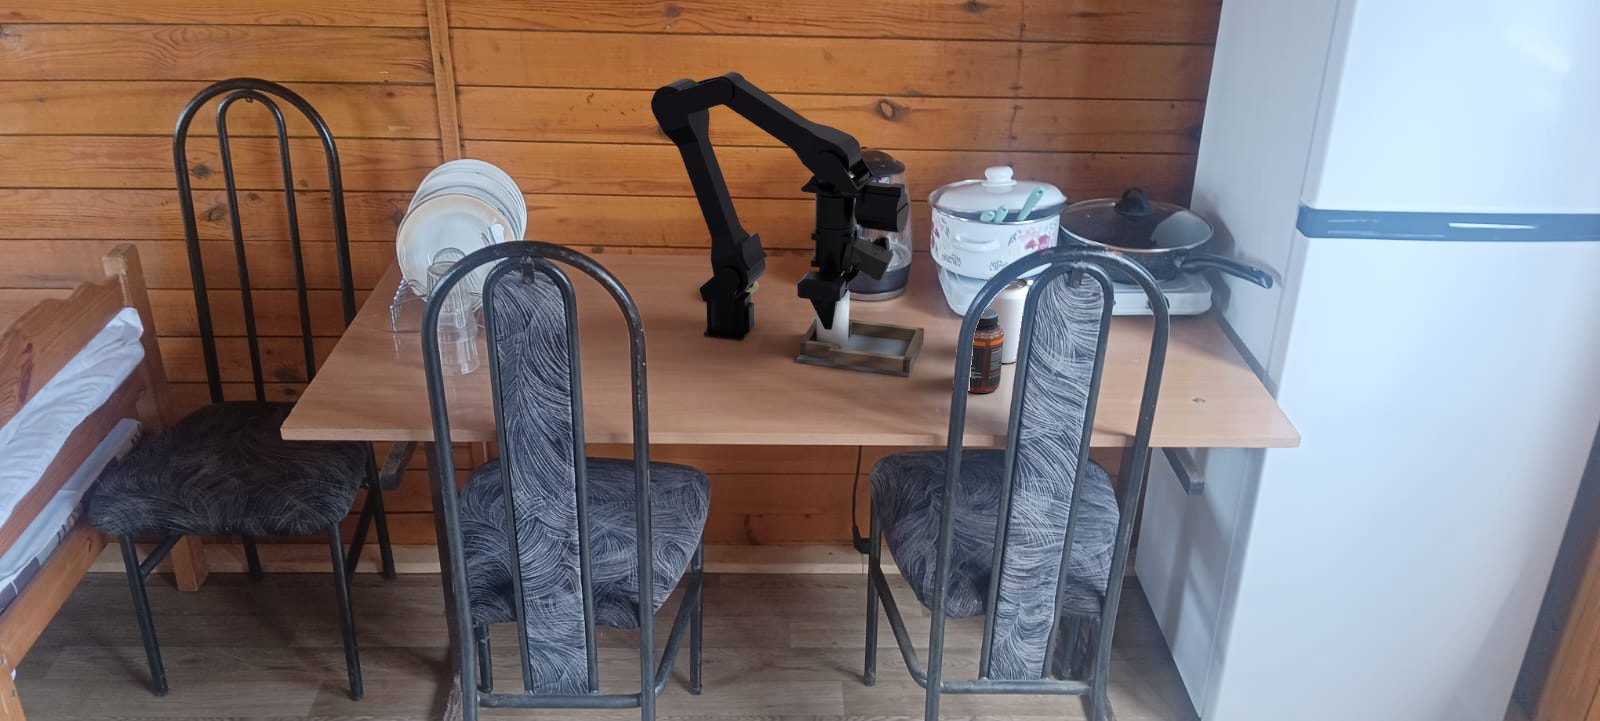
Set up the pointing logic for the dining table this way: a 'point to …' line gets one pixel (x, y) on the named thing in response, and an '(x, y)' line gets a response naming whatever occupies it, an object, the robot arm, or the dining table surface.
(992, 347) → the supplement bottle
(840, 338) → the peg
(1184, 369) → the dining table surface
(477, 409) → the dining table surface
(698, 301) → the dining table surface
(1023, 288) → the can
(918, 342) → the tray
